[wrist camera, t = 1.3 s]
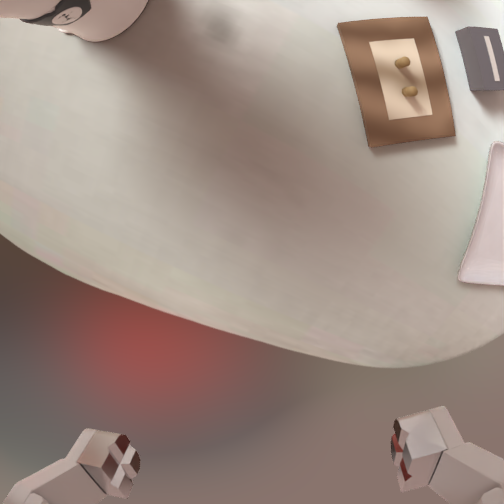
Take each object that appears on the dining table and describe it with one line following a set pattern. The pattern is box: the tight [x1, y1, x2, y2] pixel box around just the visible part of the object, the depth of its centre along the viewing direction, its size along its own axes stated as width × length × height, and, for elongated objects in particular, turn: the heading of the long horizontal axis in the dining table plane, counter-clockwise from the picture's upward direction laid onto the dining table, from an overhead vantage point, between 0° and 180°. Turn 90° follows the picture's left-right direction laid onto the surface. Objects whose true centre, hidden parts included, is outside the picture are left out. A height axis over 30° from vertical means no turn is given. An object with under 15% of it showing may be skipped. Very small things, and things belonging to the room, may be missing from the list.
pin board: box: [337, 17, 456, 148], centre depth 30 cm, size 16×12×4 cm
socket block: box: [456, 27, 504, 90], centre depth 26 cm, size 8×5×4 cm, turn 16°
